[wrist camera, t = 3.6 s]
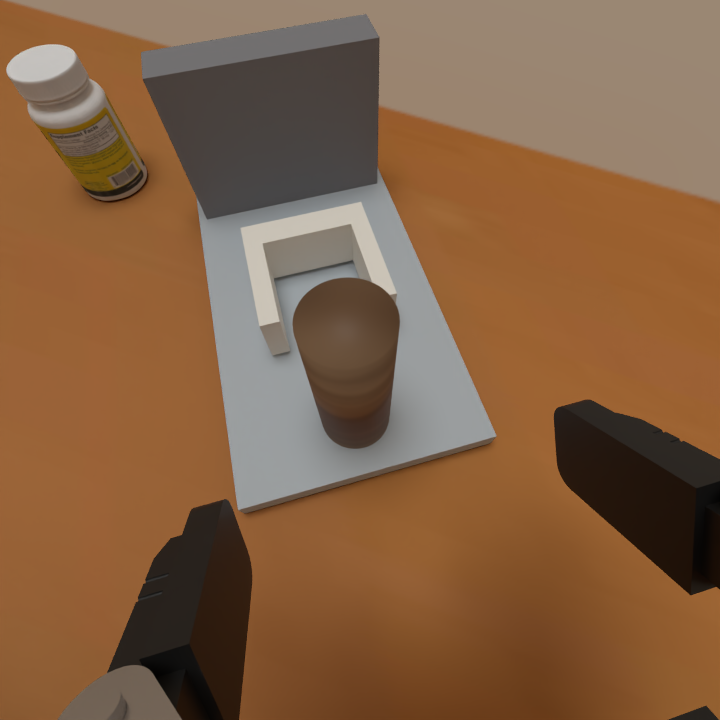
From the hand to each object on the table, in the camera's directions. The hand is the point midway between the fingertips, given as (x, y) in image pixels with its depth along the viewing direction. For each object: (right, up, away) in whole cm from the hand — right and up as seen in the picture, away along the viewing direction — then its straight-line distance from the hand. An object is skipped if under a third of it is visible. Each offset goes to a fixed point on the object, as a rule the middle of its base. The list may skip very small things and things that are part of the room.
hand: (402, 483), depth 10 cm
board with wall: (-3, +6, +16) cm, 18 cm away
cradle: (-3, +7, +15) cm, 17 cm away
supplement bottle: (-20, +17, +22) cm, 34 cm away
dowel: (-1, 0, +12) cm, 12 cm away
